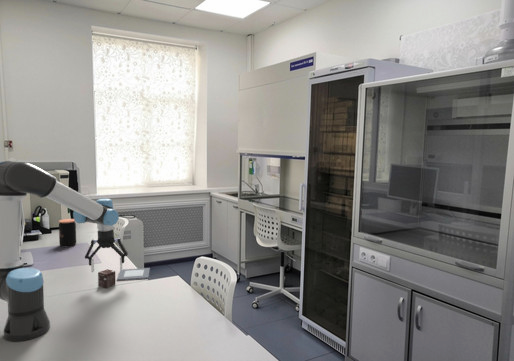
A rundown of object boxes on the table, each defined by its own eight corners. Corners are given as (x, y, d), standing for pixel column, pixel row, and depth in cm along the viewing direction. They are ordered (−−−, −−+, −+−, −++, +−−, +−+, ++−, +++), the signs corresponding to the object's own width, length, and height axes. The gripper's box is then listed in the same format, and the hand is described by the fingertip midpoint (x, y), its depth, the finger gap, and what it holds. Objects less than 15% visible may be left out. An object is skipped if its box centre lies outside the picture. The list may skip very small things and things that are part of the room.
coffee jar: (60, 244, 269) (59, 219, 267) (76, 242, 273) (75, 218, 271) (59, 247, 259) (58, 222, 257) (76, 246, 263) (75, 221, 262)
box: (97, 286, 189) (97, 272, 189) (107, 282, 195) (107, 269, 194) (106, 288, 187) (106, 274, 186) (115, 284, 192) (115, 270, 191)
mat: (148, 278, 201) (148, 277, 201) (116, 280, 197) (116, 279, 197) (149, 269, 217) (149, 267, 217) (120, 270, 213) (120, 269, 213)
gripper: (132, 226, 195) (133, 266, 197) (80, 229, 189) (82, 269, 191) (130, 230, 187) (132, 271, 190) (77, 232, 182) (79, 274, 184)
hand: (107, 270), depth 190 cm, fingers open, 13 cm apart
